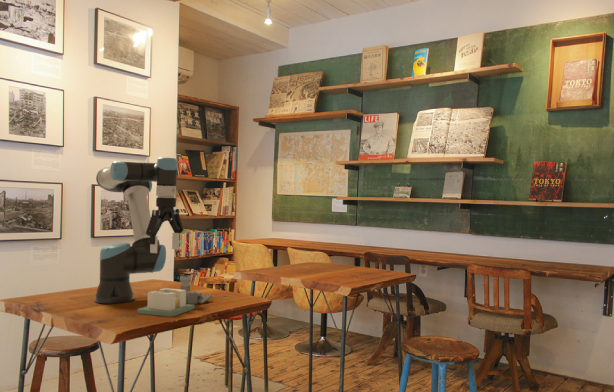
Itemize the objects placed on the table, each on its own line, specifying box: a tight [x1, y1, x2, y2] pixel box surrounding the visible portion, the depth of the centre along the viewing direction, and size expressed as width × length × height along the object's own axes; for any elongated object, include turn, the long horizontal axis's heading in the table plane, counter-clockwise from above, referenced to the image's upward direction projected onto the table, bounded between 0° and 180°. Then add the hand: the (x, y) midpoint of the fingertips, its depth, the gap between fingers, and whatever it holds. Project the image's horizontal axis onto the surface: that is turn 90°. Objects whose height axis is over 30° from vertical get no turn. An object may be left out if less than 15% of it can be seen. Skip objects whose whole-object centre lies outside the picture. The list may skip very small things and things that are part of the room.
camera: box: [179, 275, 213, 306], centre depth 203 cm, size 9×12×15 cm
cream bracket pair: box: [146, 287, 186, 311], centre depth 189 cm, size 10×10×6 cm
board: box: [137, 292, 196, 318], centre depth 189 cm, size 15×15×7 cm
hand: (164, 251), depth 195 cm, fingers open, 13 cm apart
